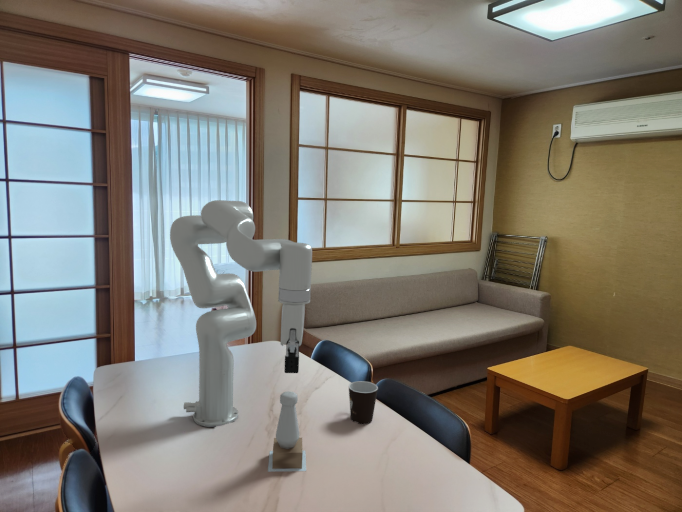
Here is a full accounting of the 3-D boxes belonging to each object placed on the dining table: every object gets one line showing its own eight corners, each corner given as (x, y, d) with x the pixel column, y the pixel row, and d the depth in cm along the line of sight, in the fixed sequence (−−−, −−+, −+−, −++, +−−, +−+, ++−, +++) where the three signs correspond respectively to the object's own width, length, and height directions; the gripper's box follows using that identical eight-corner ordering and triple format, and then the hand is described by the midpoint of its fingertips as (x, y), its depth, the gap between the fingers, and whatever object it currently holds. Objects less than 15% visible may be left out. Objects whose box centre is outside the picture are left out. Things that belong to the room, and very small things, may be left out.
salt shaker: (275, 438, 116) (277, 388, 115) (299, 438, 117) (300, 388, 116) (275, 450, 111) (276, 398, 109) (299, 450, 111) (301, 398, 110)
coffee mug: (374, 427, 134) (375, 394, 132) (344, 423, 135) (346, 390, 134) (378, 410, 145) (380, 379, 144) (351, 406, 147) (353, 376, 145)
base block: (272, 468, 110) (272, 452, 110) (273, 452, 117) (274, 437, 117) (301, 468, 111) (302, 452, 111) (301, 452, 118) (302, 437, 117)
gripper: (280, 287, 118) (277, 352, 120) (276, 303, 101) (274, 378, 103) (309, 288, 119) (307, 353, 121) (311, 304, 102) (308, 379, 104)
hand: (291, 365), depth 112 cm, fingers open, 9 cm apart
